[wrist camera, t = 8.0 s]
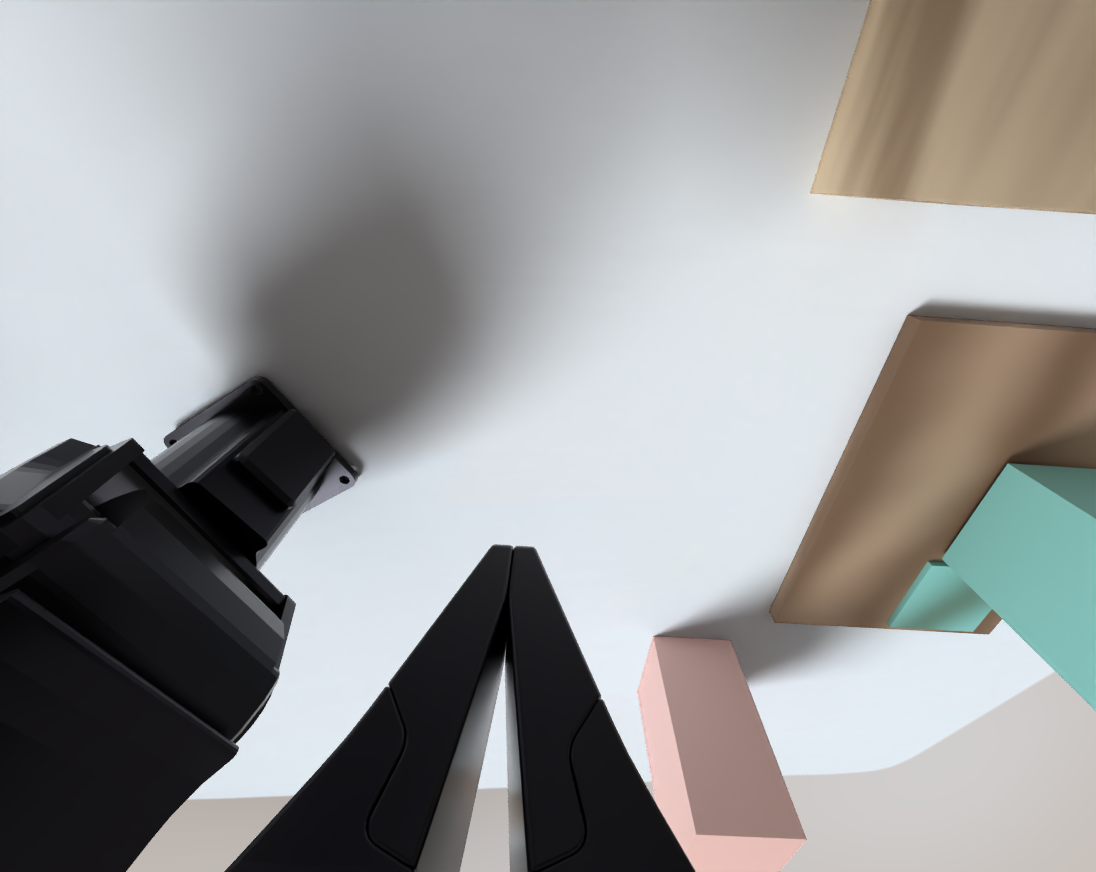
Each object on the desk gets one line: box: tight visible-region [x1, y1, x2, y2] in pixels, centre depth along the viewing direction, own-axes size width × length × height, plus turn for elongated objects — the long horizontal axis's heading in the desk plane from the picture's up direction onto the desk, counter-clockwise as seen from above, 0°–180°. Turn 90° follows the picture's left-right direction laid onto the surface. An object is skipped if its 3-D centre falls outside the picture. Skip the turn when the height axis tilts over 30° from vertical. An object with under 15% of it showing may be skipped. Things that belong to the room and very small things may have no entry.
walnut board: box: [769, 315, 1096, 634], centre depth 23 cm, size 13×18×1 cm
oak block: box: [810, 0, 1096, 214], centre depth 11 cm, size 5×6×10 cm
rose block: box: [637, 636, 807, 872], centre depth 26 cm, size 5×6×10 cm
